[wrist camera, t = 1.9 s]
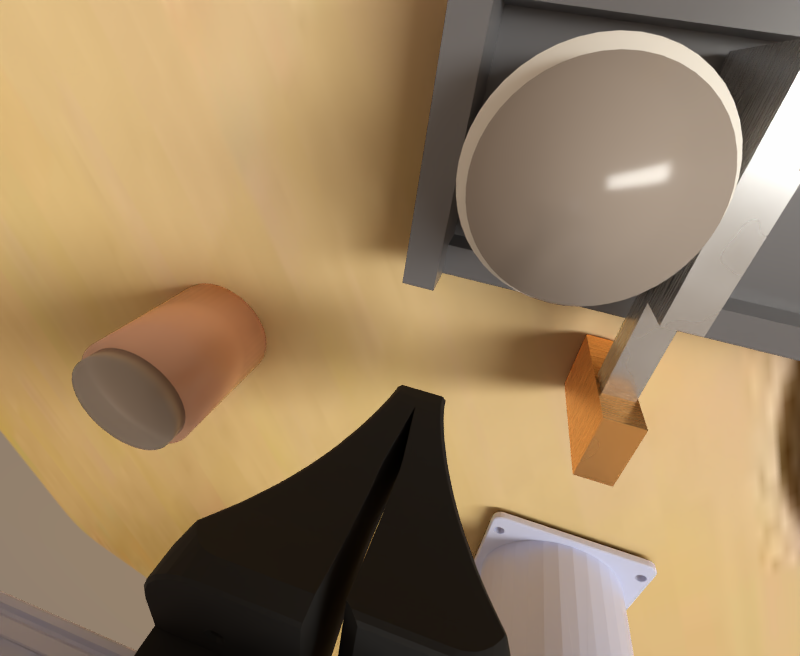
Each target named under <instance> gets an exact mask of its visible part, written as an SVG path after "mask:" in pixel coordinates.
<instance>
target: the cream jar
mask: <svg viewBox="0 0 800 656" xmlns="http://www.w3.org/2000/svg"><path fill="white" fill-rule="evenodd" d="M742 142H743V139H742V131H741V124H740V118H739V115H738V112H737V109H736V105H735V102H734V100H733V98H732V96H731V94H730V92H729V90H728V88H727V86H726V84H725V83H724V81H723V80H722V79H721V78H720V76H719V75H718V74H717V72H716V71H715V70H714V68H713V67H712V66H710V65H709V64H708V63H707V62H706V61H705V60H704V59H703V58H702V57H700V56H699V55H698V54H697V53H695V52H693V51H692V50H690V49H689V48H687V47H685V46H684V45H682V44H680V43H678V42H675V41H673V40H670V39H668V38H665V37H663V36H659V35H654V34H650V33H645V32H640V31H624V30H617V31H605V32H597V33H592V34H588V35H583V36H579V37H576V38H573V39H570V40H567V41H565V42H562V43H559V44H557V45H555V46H553V47H551V48H549V49H547V50H545V51H543V52H541V53H539V54H537V55H536V56H534V57H533V58H532V59H530V60H529V61H527V62H526V63H524V64H523V65H521V66H520V67H519V68H518V69H516V70H515V71H514V72H513V73H512V74H511V75H510V76H508V77H507V78H506V79H505V80H504V81H503V82H502V83H501V84H500V85H499V87H498V88H497V89H496V90H495V91H494V92H493V93H492V94H491V95H490V97H489V98H488V100H487V101H486V102H485V104H484V105H483V107H482V108H481V110H480V111H479V113H478V114H477V116H476V118H475V120H474V122H473V124H472V125H471V127H470V129H469V132H468V134H467V137H466V139H465V142H464V144H463V147H462V151H461V155H460V159H459V162H458V169H457V176H456V201H457V210H458V214H459V218H460V222H461V226H462V229H463V231H464V234H465V236H466V239H467V241H468V243H469V244H470V246H471V248H472V250H473V252H474V253H475V255H476V256H477V257H478V259H479V260H480V261H481V263H482V264H483V265H484V266H485V267H486V268H487V269H488V270H489V271H490V272H491V273H492V274H493V275H494V276H495V277H497V278H498V279H499V280H500V281H502V282H503V283H504V284H506V285H508V286H509V287H511V288H513V289H514V290H516V291H518V292H520V293H523V294H525V295H527V296H529V297H533V298H535V299H539V300H542V301H545V302H548V303H553V304H559V305H566V306H595V305H602V304H609V303H613V302H617V301H621V300H625V299H628V298H630V297H633V296H636V295H639V294H641V293H643V292H645V291H647V290H649V289H651V288H653V287H655V286H657V285H659V284H660V283H662V282H664V281H665V280H667V279H668V278H670V277H671V276H673V275H674V274H675V273H676V272H678V271H679V270H680V269H682V268H683V267H684V266H685V265H686V264H687V263H688V262H689V261H690V260H691V259H693V258H694V257H695V256H696V255H697V254H698V253H699V251H700V250H701V249H702V248H703V246H704V245H705V244H706V243H707V242H708V240H709V239H710V238H711V236H712V235H713V233H714V231H715V230H716V228H717V227H718V225H719V224H720V222H721V220H722V218H723V217H724V215H725V213H726V210H727V208H728V206H729V204H730V202H731V200H732V198H733V195H734V192H735V188H736V185H737V182H738V179H739V174H740V168H741V162H742Z"/></svg>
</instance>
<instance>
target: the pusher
mask: <svg viewBox="0 0 800 656" xmlns="http://www.w3.org/2000/svg"><path fill="white" fill-rule="evenodd" d="M718 75H719V76H720V78H721V79H722V80H723V81H724V83H725V84H726V86H727V88H728V90H729V92H730V94H731V96H732V98H733V100H734V102H735V105H736V109H737V112H738V115H739V118H740V124H741V131H742V139H743V142H742V162H741V168H740V174H739V179H738V182H737V185H736V188H735V192H734V195H733V198H732V200H731V202H730V204H729V206H728V208H727V210H726V213H725V215H724V217H723V218H722V220H721V222H720V224H719V225H718V227H717V228H716V230H715V231H714V233H713V235H712V236H711V238H710V239H709V240H708V242H707V243H706V244H705V245H704V246H703V248H702V249H701V250H700V251H699V253H698V254H697V255H696V256H695V257H694V258H693V259H691V260H690V261H689V262H688V263H687V264H686V265H685V266H684V267H683V268H682V269H680V270H679V271H678V272H676V273H675V274H674V275H673V276H671V277H670V278H668V279H667V280H665V281H664V282H662V283H660V284H659V285H657V286H655V287H653V288H651V289H649V290H647V291H645V292H643V293H641V294H639V295H636V297H635V299H634V301H633V303H632V305H631V307H630V310H629V312H628V314H627V316H626V318H625V320H624V322H623V324H622V326H621V328H620V330H619V332H618V334H617V336H616V338H615V340H614V341H611V340H607V339H603V338H599V337H596V336H592V335H588V334H586V337H585V339H584V341H583V343H582V346H581V348H580V350H579V352H578V354H577V357H576V359H575V361H574V363H573V366H572V368H571V370H570V372H569V375H568V377H567V379H566V381H565V394H566V405H567V416H568V426H569V437H570V448H571V459H572V470H573V474H574V475H577V476H580V477H584V478H587V479H590V480H593V481H596V482H600V483H603V484H606V485H609V486H613V485H614V484H615V482H616V481H617V479H618V478H619V476H620V474H621V473H622V471H623V470H624V468H625V466H626V465H627V463H628V462H629V460H630V458H631V457H632V455H633V454H634V452H635V450H636V449H637V447H638V446H639V444H640V442H641V441H642V439H643V438H644V436H645V435H646V433H647V431H648V429H647V426H646V423H645V420H644V417H643V414H642V411H641V408H640V404H639V401H638V398H639V396H640V394H641V393H642V391H643V389H644V387H645V386H646V384H647V382H648V380H649V379H650V377H651V375H652V373H653V372H654V370H655V368H656V367H657V365H658V363H659V361H660V360H661V358H662V356H663V354H664V353H665V351H666V349H667V348H668V346H669V344H670V342H671V341H672V339H673V337H674V335H675V334H676V332H677V331H681V332H686V333H690V334H694V335H698V336H702V337H705V335H706V333H707V332H708V330H709V329H710V327H711V325H712V324H713V322H714V321H715V319H716V317H717V316H718V314H719V313H720V311H721V309H722V308H723V306H724V305H725V303H726V301H727V300H728V298H729V297H730V295H731V293H732V292H733V290H734V289H735V287H736V285H737V284H738V282H739V281H740V279H741V277H742V276H743V274H744V273H745V271H746V269H747V268H748V266H749V265H750V263H751V261H752V260H753V258H754V256H755V255H756V253H757V252H758V250H759V248H760V247H761V245H762V244H763V242H764V240H765V239H766V237H767V236H768V234H769V232H770V231H771V229H772V228H773V226H774V224H775V223H776V221H777V220H778V218H779V216H780V215H781V213H782V212H783V210H784V208H785V207H786V205H787V204H788V202H789V200H790V199H791V197H792V196H793V194H794V192H795V191H796V189H797V188H798V186H799V184H800V39H796V40H790V41H784V42H779V43H773V44H767V45H762V46H756V47H751V48H745V49H739V50H734V51H729V53H728V55H727V57H726V59H725V61H724V63H723V66H722V68H721V70H720V72H719V74H718Z"/></svg>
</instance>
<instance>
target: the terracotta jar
mask: <svg viewBox="0 0 800 656" xmlns="http://www.w3.org/2000/svg"><path fill="white" fill-rule="evenodd" d="M265 351H266V337H265V332H264V329H263V326H262V324H261V322H260V320H259V318H258V317H257V315H256V314H255V312H254V311H253V310H252V308H251V307H250V306H249V305H248V304H247V303H246V302H245V301H244V300H243V299H242V298H240V297H239V296H238V295H236V294H235V293H233V292H231V291H230V290H228V289H225V288H223V287H220V286H217V285H213V284H198V285H194V286H192V287H190V288H188V289H186V290H184V291H183V292H181V293H179V294H178V295H176V296H174V297H172V298H171V299H169V300H167V301H166V302H164V303H162V304H160V305H159V306H157V307H155V308H154V309H152V310H150V311H148V312H147V313H145V314H143V315H142V316H140V317H138V318H136V319H135V320H133V321H131V322H130V323H128V324H126V325H124V326H123V327H121V328H119V329H117V330H116V331H114V332H112V333H111V334H109V335H107V336H105V337H104V338H102V339H100V340H99V341H97V342H95V343H93V344H92V345H90V346H89V347H88V348H87V349H86V350H85V352H84V354H83V357H82V360H81V361H80V362H79V363H77V365H76V366H75V367H74V369H73V373H72V384H73V388H74V391H75V394H76V396H77V398H78V400H79V402H80V403H81V405H82V407H83V408H84V409H85V411H86V412H87V413H88V415H89V416H90V417H91V418H92V419H93V420H94V421H95V422H96V423H97V424H98V425H99V426H100V427H101V428H102V429H104V430H105V431H106V432H107V433H109V434H110V435H112V436H113V437H115V438H116V439H118V440H120V441H122V442H124V443H126V444H128V445H130V446H133V447H136V448H139V449H144V450H157V449H160V448H163V447H165V446H166V445H167V444H168V443H175V442H178V441H181V440H182V439H184V438H185V437H186V436H187V435H188V434H189V433H190V432H191V431H192V430H193V429H194V428H195V427H196V426H197V425H198V424H199V423H200V422H201V421H202V420H203V419H204V418H205V417H206V416H207V415H208V414H209V413H210V412H211V411H212V410H213V409H214V408H215V407H216V406H217V405H218V404H219V403H220V402H221V401H222V400H223V399H224V398H225V397H226V396H227V395H228V394H229V393H230V392H231V391H232V390H233V389H234V388H235V387H236V386H237V385H238V384H239V383H240V382H241V381H242V380H243V379H244V378H245V377H246V376H247V375H248V374H249V373H250V372H251V371H252V370H253V369H254V368H255V367H256V366H257V365H258V364H259V363H260V362H261V360H262V359H263V357H264V355H265Z"/></svg>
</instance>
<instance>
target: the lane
mask: <svg viewBox="0 0 800 656" xmlns="http://www.w3.org/2000/svg"><path fill="white" fill-rule="evenodd" d="M617 30H624V31H640V32H645V33H650V34H654V35H659V36H663V37H665V38H668V39H670V40H673V41H675V42H678V43H680V44H682V45H684V46H685V47H687V48H689V49H690V50H692V51H693V52H695V53H697V54H698V55H699V56H700V57H702V58H703V59H704V60H705V61H706V62H707V63H708V64H709V65H710V66H712V67H713V68H714V70H715V71H716V72H717V74H719V72H720V70H721V68H722V66H723V63H724V61H725V59H726V57H727V55H728V53H729V51H734V50H739V49H745V48H751V47H756V46H762V45H767V44H773V43H779V42H784V41H790V40H796V39H800V0H448V3H447V10H446V16H445V22H444V28H443V35H442V41H441V47H440V53H439V59H438V66H437V72H436V78H435V84H434V90H433V97H432V103H431V109H430V115H429V121H428V128H427V134H426V140H425V146H424V153H423V159H422V165H421V171H420V177H419V184H418V190H417V196H416V202H415V208H414V215H413V221H412V227H411V233H410V239H409V246H408V252H407V258H406V264H405V270H404V277H403V283H405V284H409V285H413V286H417V287H421V288H425V289H429V290H434V288H435V286H436V284H437V282H438V280H439V278H440V277H441V275H442V273H446V274H450V275H454V276H458V277H462V278H466V279H470V280H474V281H478V282H482V283H486V284H490V285H494V286H498V287H502V288H506V289H510V290H514V289H513V288H511V287H509V286H508V285H506V284H504V283H503V282H502V281H500V280H499V279H498V278H497V277H495V276H494V275H493V274H492V273H491V272H490V271H489V270H488V269H487V268H486V267H485V266H484V265H483V264H482V263H481V261H480V260H479V259H478V257H477V256H476V255H475V253H474V252H473V250H472V248H471V246H470V244H469V243H468V241H467V239H466V236H465V234H464V231H463V229H462V226H461V222H460V218H459V214H458V210H457V201H456V176H457V169H458V162H459V159H460V155H461V151H462V147H463V144H464V142H465V139H466V137H467V134H468V132H469V129H470V127H471V125H472V124H473V122H474V120H475V118H476V116H477V114H478V113H479V111H480V110H481V108H482V107H483V105H484V104H485V102H486V101H487V100H488V98H489V97H490V95H491V94H492V93H493V92H494V91H495V90H496V89H497V88H498V87H499V85H500V84H501V83H502V82H503V81H504V80H505V79H506V78H507V77H508V76H510V75H511V74H512V73H513V72H514V71H515V70H516V69H518V68H519V67H520V66H521V65H523V64H524V63H526V62H527V61H529V60H530V59H532V58H533V57H534V56H536V55H537V54H539V53H541V52H543V51H545V50H547V49H549V48H551V47H553V46H555V45H557V44H559V43H562V42H565V41H567V40H570V39H573V38H576V37H579V36H583V35H588V34H592V33H597V32H605V31H617ZM514 291H516V290H514ZM635 297H636V296H633V297H630V298H628V299H625V300H621V301H617V302H613V303H609V304H602V305H595V306H579V307H583V308H587V309H592V310H596V311H600V312H604V313H608V314H612V315H616V316H620V317H624V318H626V316H627V314H628V312H629V310H630V307H631V305H632V303H633V301H634V299H635ZM685 333H686V332H685ZM689 334H690V333H689ZM693 335H694V334H693ZM697 336H698V335H697ZM701 337H702V336H701ZM705 338H709V339H713V340H717V341H721V342H725V343H729V344H733V345H738V346H742V347H746V348H750V349H754V350H758V351H762V352H766V353H770V354H774V355H778V356H782V357H786V358H790V359H794V360H798V361H800V184H799V186H798V188H797V189H796V191H795V192H794V194H793V196H792V197H791V199H790V200H789V202H788V204H787V205H786V207H785V208H784V210H783V212H782V213H781V215H780V216H779V218H778V220H777V221H776V223H775V224H774V226H773V228H772V229H771V231H770V232H769V234H768V236H767V237H766V239H765V240H764V242H763V244H762V245H761V247H760V248H759V250H758V252H757V253H756V255H755V256H754V258H753V260H752V261H751V263H750V265H749V266H748V268H747V269H746V271H745V273H744V274H743V276H742V277H741V279H740V281H739V282H738V284H737V285H736V287H735V289H734V290H733V292H732V293H731V295H730V297H729V298H728V300H727V301H726V303H725V305H724V306H723V308H722V309H721V311H720V313H719V314H718V316H717V317H716V319H715V321H714V322H713V324H712V325H711V327H710V329H709V330H708V332H707V333H706V335H705Z"/></svg>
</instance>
